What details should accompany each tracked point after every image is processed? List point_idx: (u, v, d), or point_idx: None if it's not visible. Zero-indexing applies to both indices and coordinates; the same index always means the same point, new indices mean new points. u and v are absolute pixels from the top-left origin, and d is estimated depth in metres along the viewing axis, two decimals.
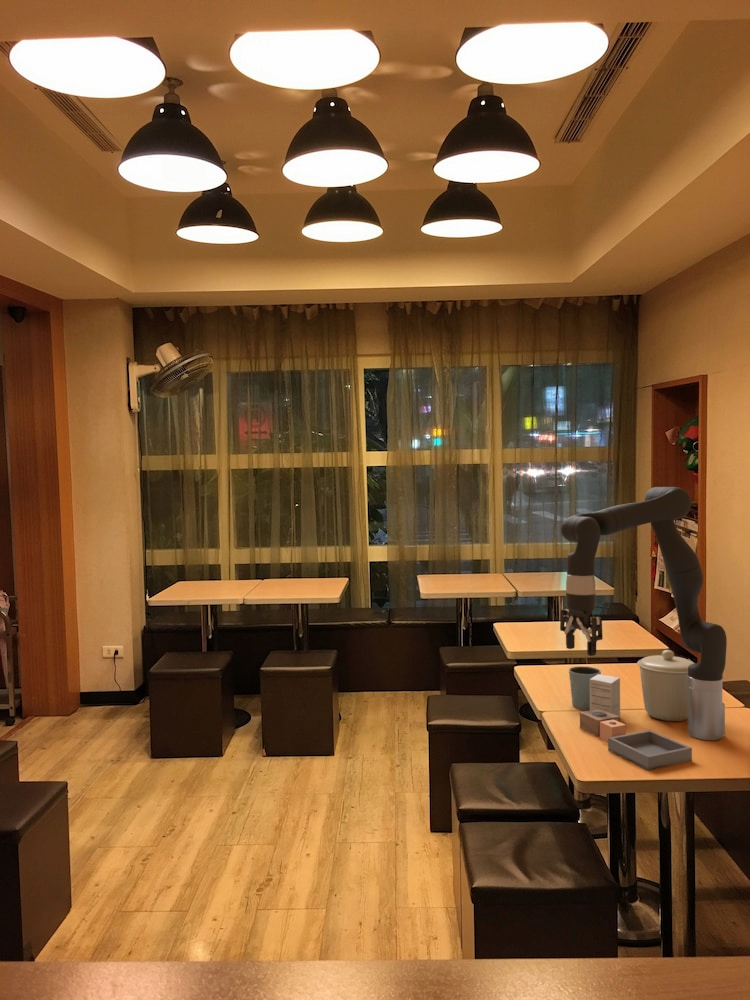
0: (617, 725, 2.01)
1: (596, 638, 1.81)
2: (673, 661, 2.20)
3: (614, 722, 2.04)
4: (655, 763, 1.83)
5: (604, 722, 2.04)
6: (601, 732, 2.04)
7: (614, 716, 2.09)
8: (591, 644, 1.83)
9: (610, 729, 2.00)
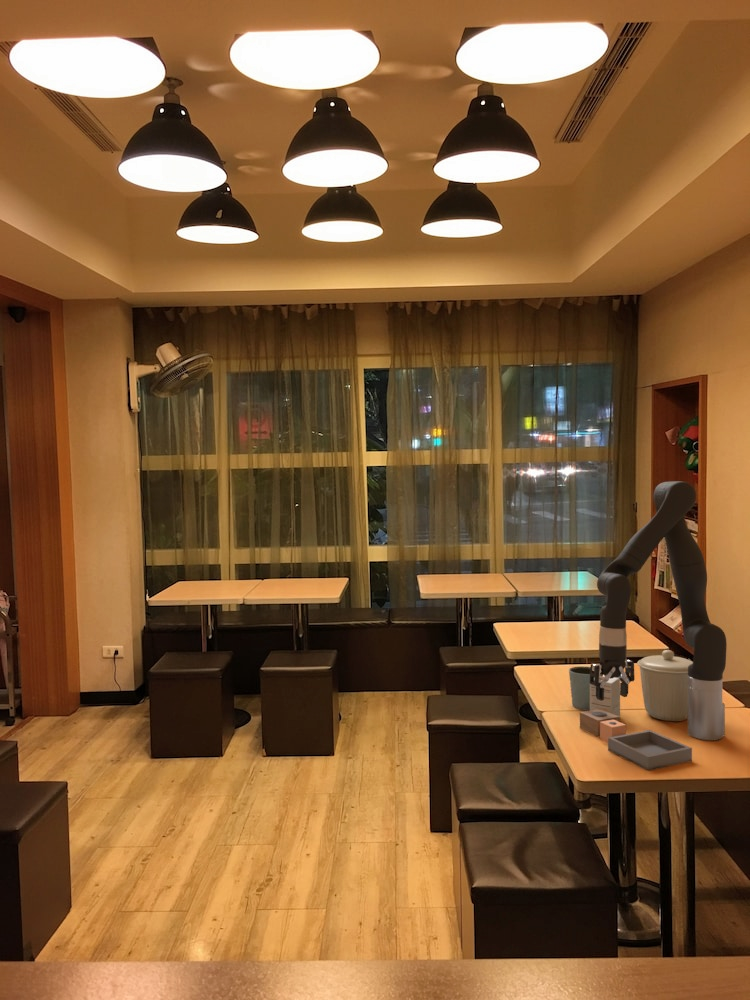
0: (617, 725, 2.01)
1: None
2: (673, 661, 2.20)
3: (614, 722, 2.04)
4: (655, 763, 1.83)
5: (604, 722, 2.04)
6: (601, 732, 2.04)
7: (614, 716, 2.09)
8: (627, 686, 2.04)
9: (610, 729, 2.00)
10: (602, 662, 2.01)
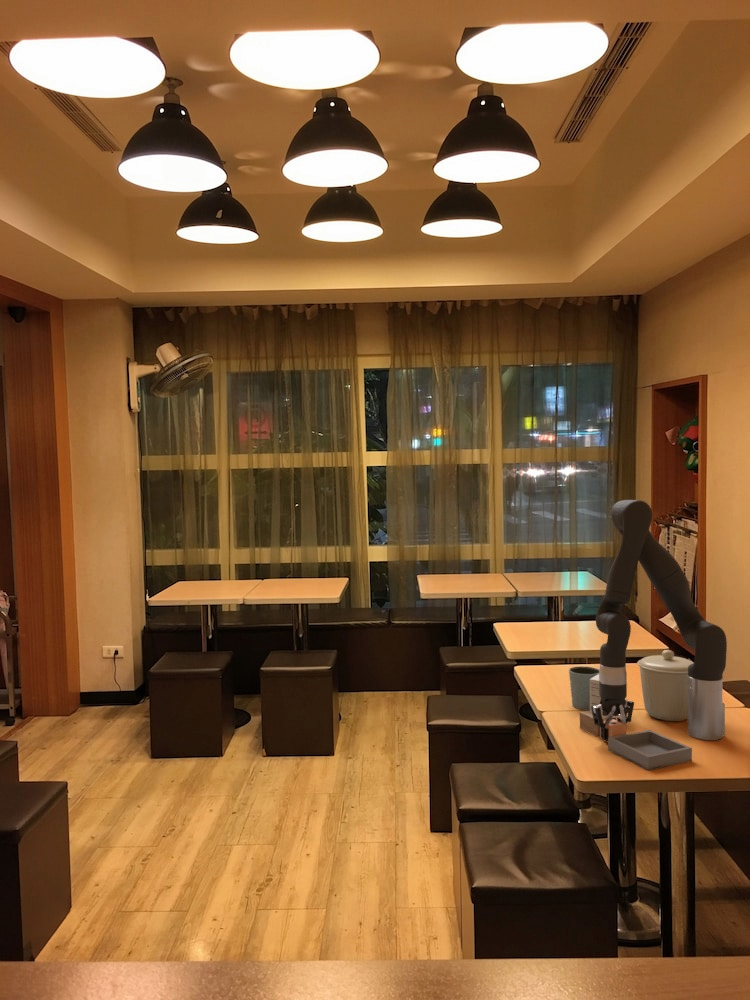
0: (617, 725, 2.01)
1: None
2: (673, 661, 2.20)
3: (614, 722, 2.04)
4: (655, 763, 1.83)
5: (604, 722, 2.04)
6: None
7: (614, 716, 2.09)
8: None
9: (610, 729, 2.00)
10: (602, 701, 2.01)
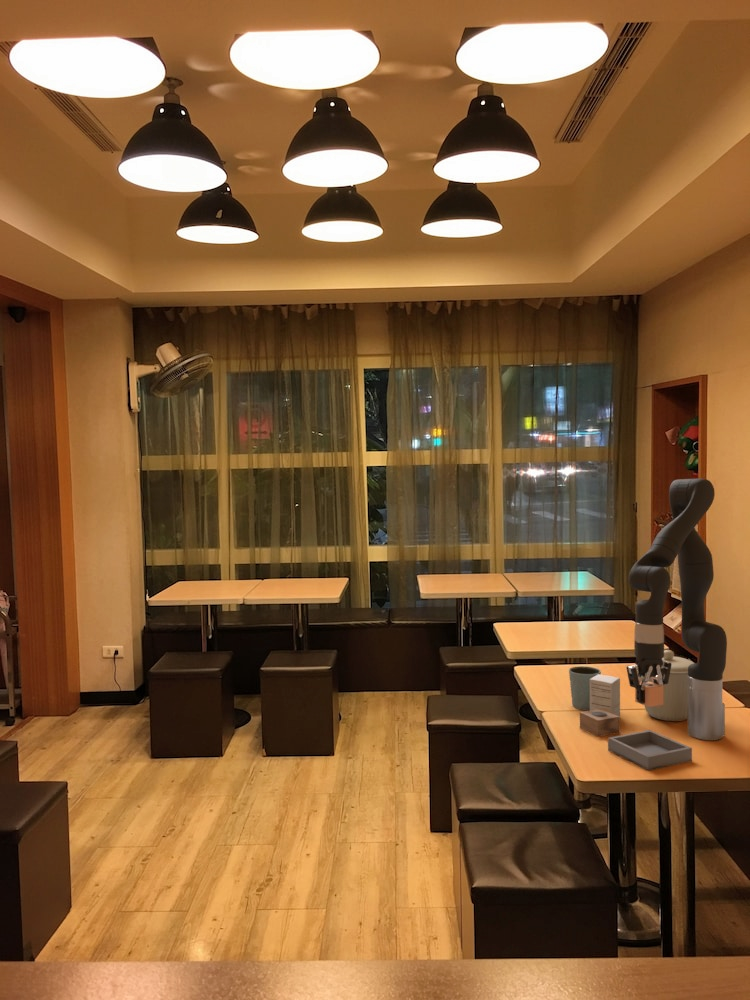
0: (654, 686, 1.90)
1: None
2: (673, 661, 2.20)
3: (650, 684, 1.92)
4: (655, 763, 1.83)
5: (640, 684, 1.92)
6: None
7: (614, 716, 2.09)
8: None
9: (647, 690, 1.89)
10: (638, 661, 1.89)
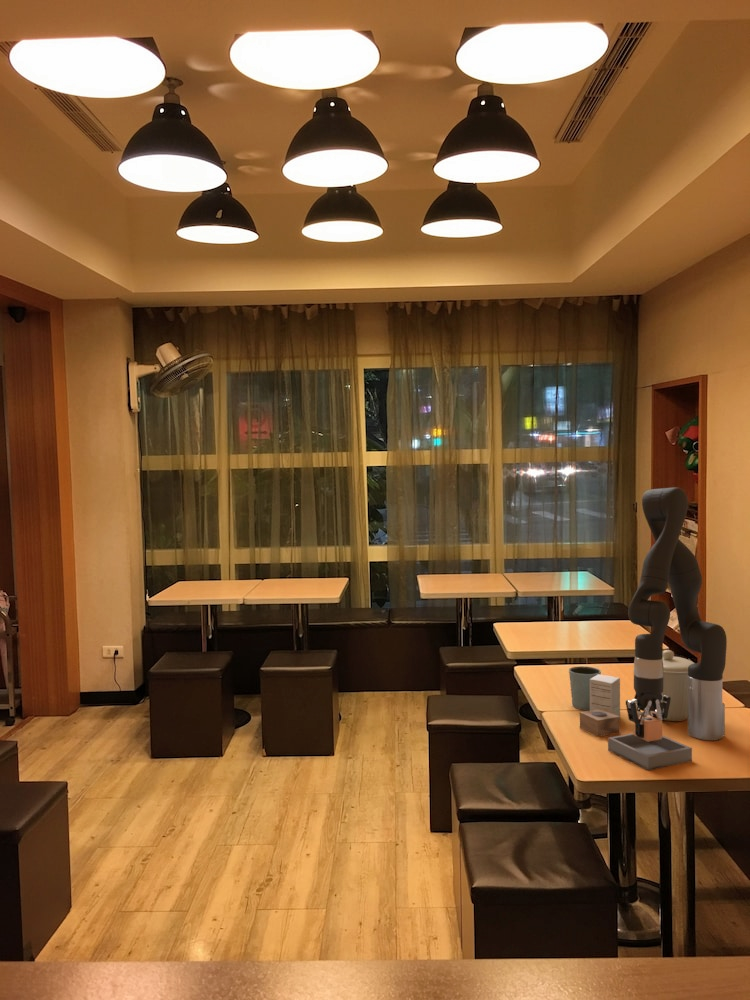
0: (653, 721, 1.90)
1: None
2: (673, 661, 2.20)
3: (650, 718, 1.92)
4: (655, 763, 1.83)
5: (639, 718, 1.92)
6: None
7: (614, 716, 2.09)
8: None
9: (646, 725, 1.89)
10: (638, 695, 1.90)
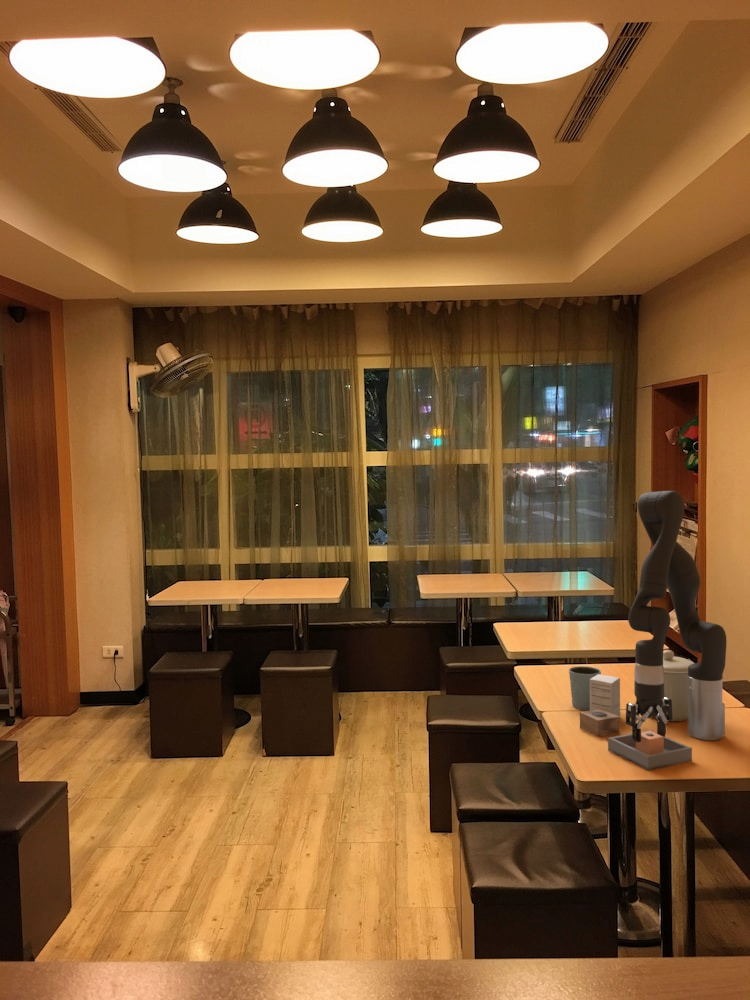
0: (655, 737, 1.90)
1: None
2: (673, 661, 2.20)
3: (651, 734, 1.92)
4: (655, 763, 1.83)
5: None
6: (637, 744, 1.93)
7: (614, 716, 2.09)
8: (665, 725, 1.93)
9: (647, 741, 1.89)
10: (638, 701, 1.90)
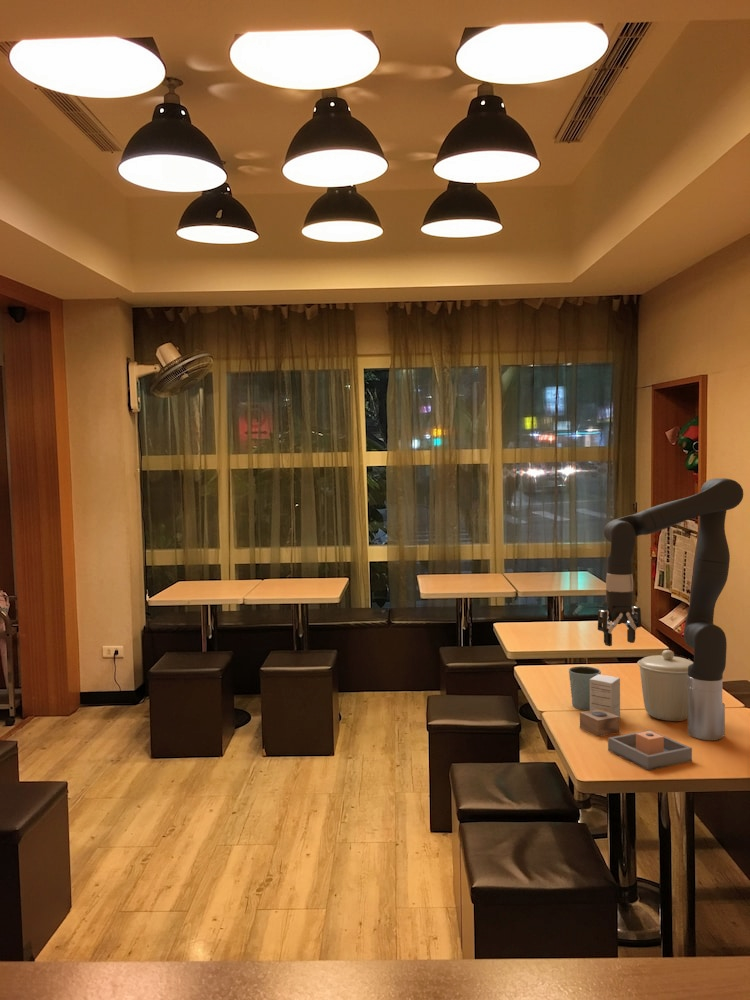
0: (655, 737, 1.90)
1: None
2: (673, 661, 2.20)
3: (651, 734, 1.92)
4: (655, 763, 1.83)
5: (640, 734, 1.92)
6: (637, 744, 1.93)
7: (614, 716, 2.09)
8: (634, 632, 2.07)
9: (647, 741, 1.89)
10: (609, 608, 2.04)
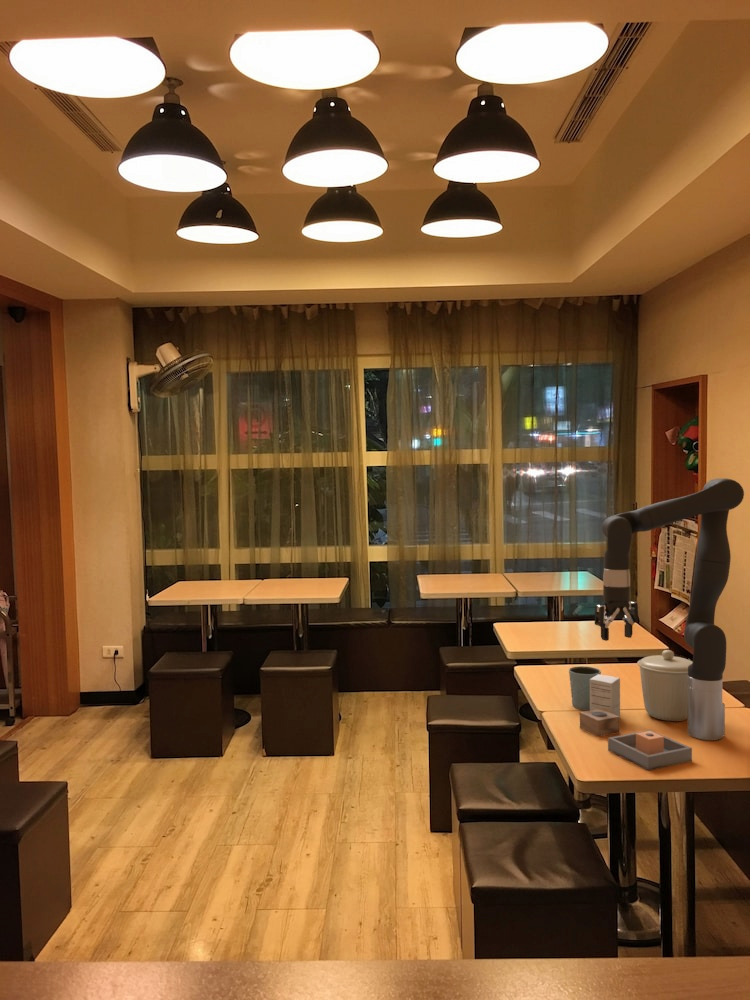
0: (655, 737, 1.90)
1: None
2: (673, 661, 2.20)
3: (651, 734, 1.92)
4: (655, 763, 1.83)
5: (640, 734, 1.92)
6: (637, 744, 1.93)
7: (614, 716, 2.09)
8: (631, 627, 2.09)
9: (647, 741, 1.89)
10: (606, 603, 2.06)
